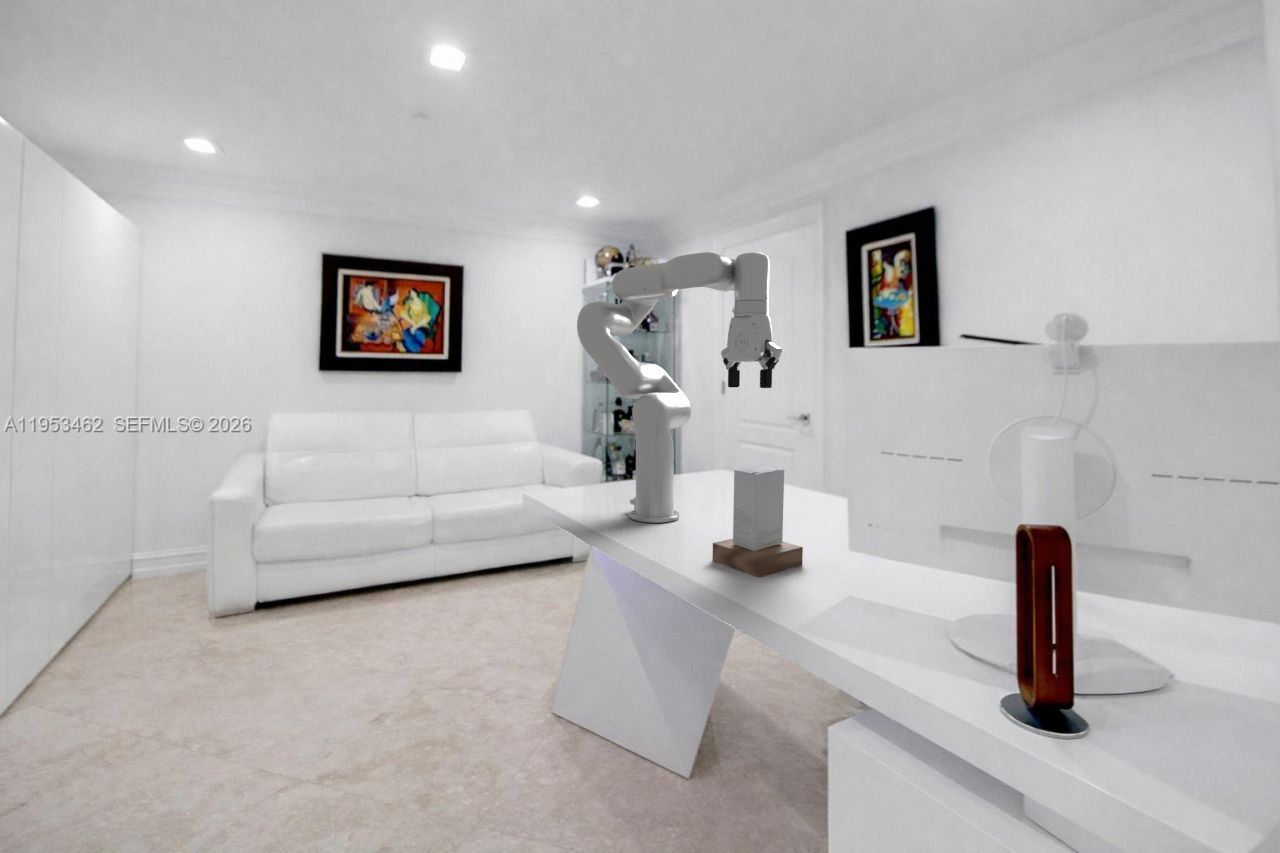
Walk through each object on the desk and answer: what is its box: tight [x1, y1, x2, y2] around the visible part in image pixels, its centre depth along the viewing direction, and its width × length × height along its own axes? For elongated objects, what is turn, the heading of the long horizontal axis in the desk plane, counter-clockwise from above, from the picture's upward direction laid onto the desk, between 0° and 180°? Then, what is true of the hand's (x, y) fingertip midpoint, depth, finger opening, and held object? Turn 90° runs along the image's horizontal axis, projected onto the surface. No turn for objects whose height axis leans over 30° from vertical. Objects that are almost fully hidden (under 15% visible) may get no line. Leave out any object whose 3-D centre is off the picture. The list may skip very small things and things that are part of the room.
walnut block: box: [712, 538, 804, 578], centre depth 116 cm, size 12×12×4 cm
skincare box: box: [732, 464, 785, 551], centre depth 115 cm, size 8×6×15 cm
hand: (749, 387), depth 136 cm, fingers open, 9 cm apart
